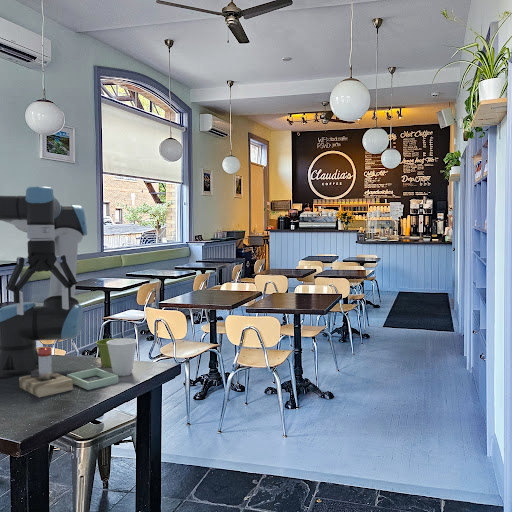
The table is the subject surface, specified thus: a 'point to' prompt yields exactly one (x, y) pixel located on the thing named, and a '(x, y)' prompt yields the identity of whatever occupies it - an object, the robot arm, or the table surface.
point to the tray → (107, 380)
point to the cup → (122, 355)
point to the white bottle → (45, 364)
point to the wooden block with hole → (45, 384)
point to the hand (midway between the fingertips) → (43, 311)
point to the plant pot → (104, 352)
